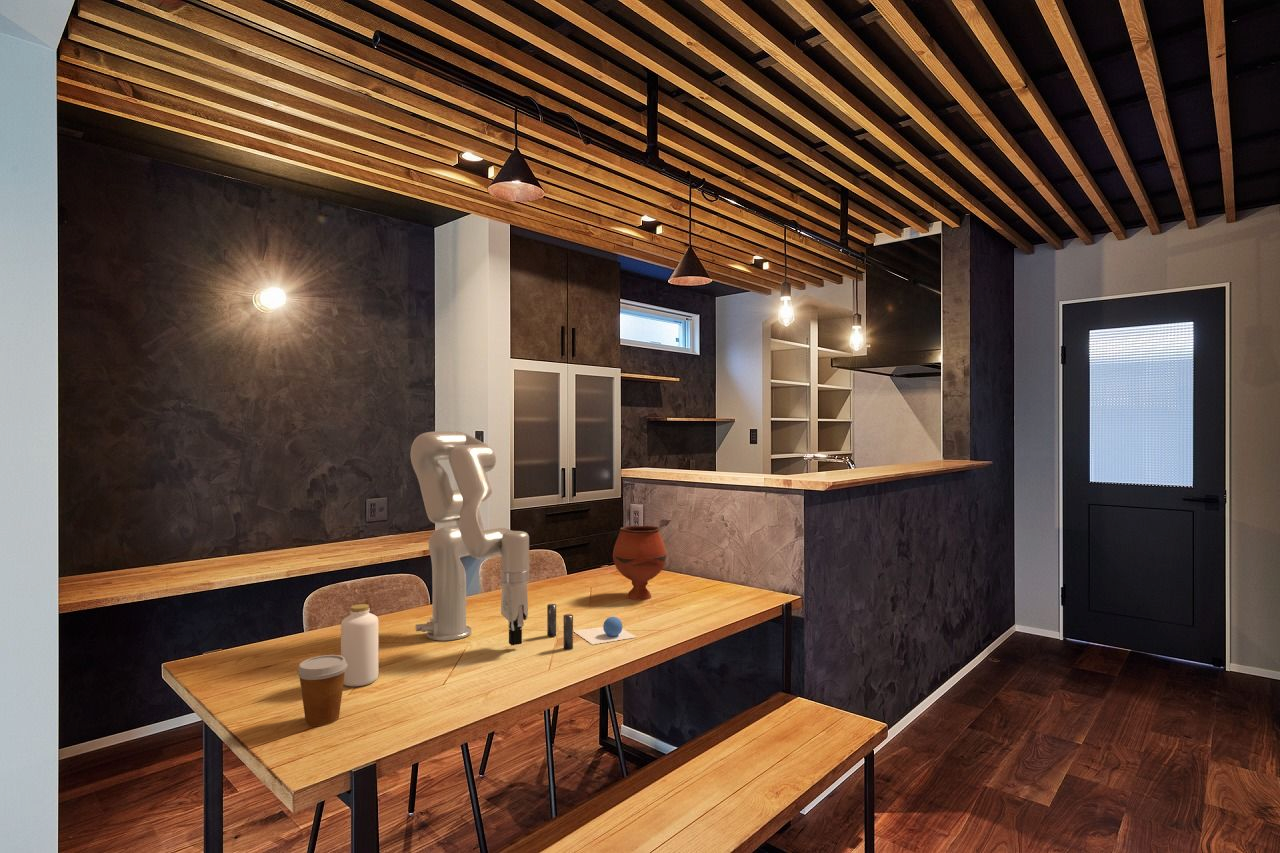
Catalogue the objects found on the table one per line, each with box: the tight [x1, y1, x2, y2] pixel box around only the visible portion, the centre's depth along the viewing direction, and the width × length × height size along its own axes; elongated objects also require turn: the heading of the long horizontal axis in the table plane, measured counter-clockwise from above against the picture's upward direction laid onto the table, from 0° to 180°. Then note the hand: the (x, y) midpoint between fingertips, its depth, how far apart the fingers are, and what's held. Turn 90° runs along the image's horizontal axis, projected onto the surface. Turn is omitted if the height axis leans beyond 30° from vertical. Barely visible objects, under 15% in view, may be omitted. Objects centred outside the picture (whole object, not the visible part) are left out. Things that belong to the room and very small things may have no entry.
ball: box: [602, 616, 623, 637], centre depth 194 cm, size 6×6×6 cm
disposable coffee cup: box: [296, 654, 348, 727], centre depth 139 cm, size 10×10×12 cm
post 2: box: [563, 613, 574, 651], centre depth 183 cm, size 3×3×9 cm
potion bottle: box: [340, 603, 379, 688], centre depth 160 cm, size 8×8×18 cm
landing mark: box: [573, 626, 638, 646], centre depth 196 cm, size 14×14×1 cm
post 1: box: [546, 603, 557, 638], centre depth 195 cm, size 3×3×9 cm
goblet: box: [612, 525, 667, 601], centre depth 240 cm, size 19×19×25 cm
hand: (515, 643), depth 183 cm, fingers closed
